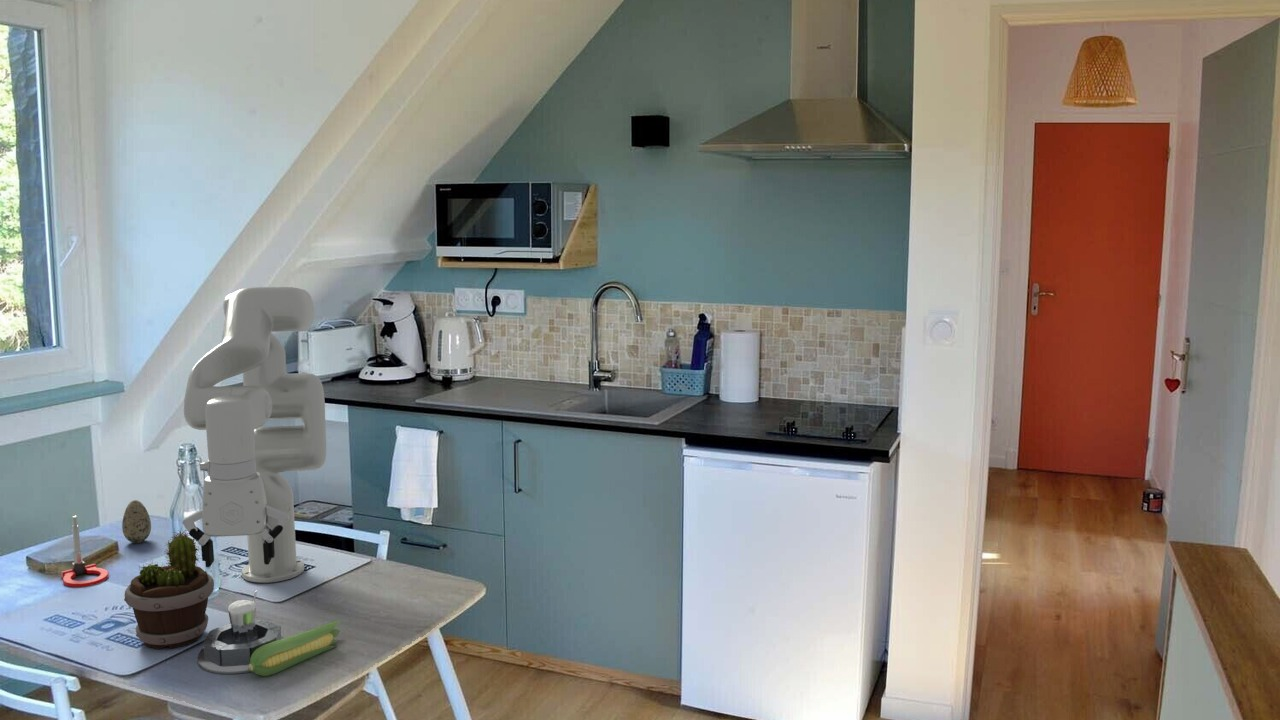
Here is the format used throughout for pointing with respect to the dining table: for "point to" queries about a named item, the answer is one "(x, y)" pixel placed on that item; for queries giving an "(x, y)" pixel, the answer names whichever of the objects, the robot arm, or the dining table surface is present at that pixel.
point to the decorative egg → (136, 522)
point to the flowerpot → (171, 597)
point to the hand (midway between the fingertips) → (239, 562)
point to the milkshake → (243, 620)
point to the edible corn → (292, 650)
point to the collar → (234, 648)
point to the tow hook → (81, 565)
